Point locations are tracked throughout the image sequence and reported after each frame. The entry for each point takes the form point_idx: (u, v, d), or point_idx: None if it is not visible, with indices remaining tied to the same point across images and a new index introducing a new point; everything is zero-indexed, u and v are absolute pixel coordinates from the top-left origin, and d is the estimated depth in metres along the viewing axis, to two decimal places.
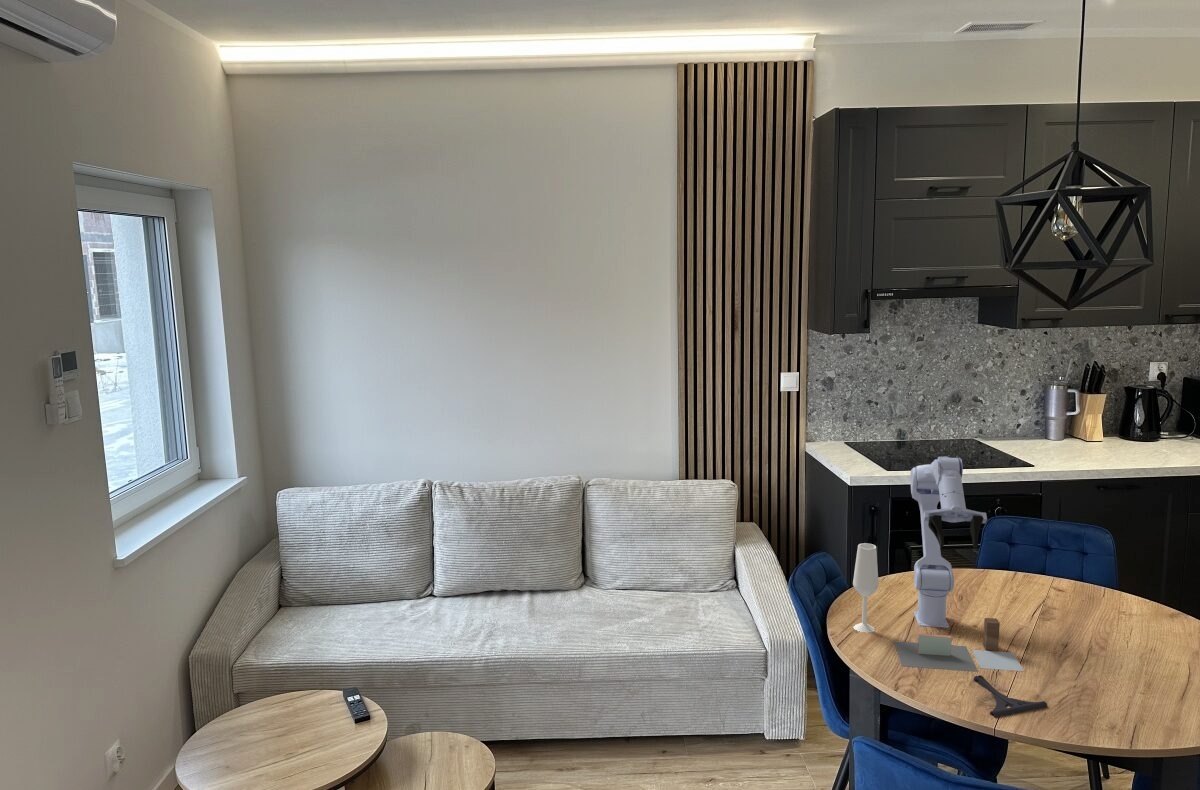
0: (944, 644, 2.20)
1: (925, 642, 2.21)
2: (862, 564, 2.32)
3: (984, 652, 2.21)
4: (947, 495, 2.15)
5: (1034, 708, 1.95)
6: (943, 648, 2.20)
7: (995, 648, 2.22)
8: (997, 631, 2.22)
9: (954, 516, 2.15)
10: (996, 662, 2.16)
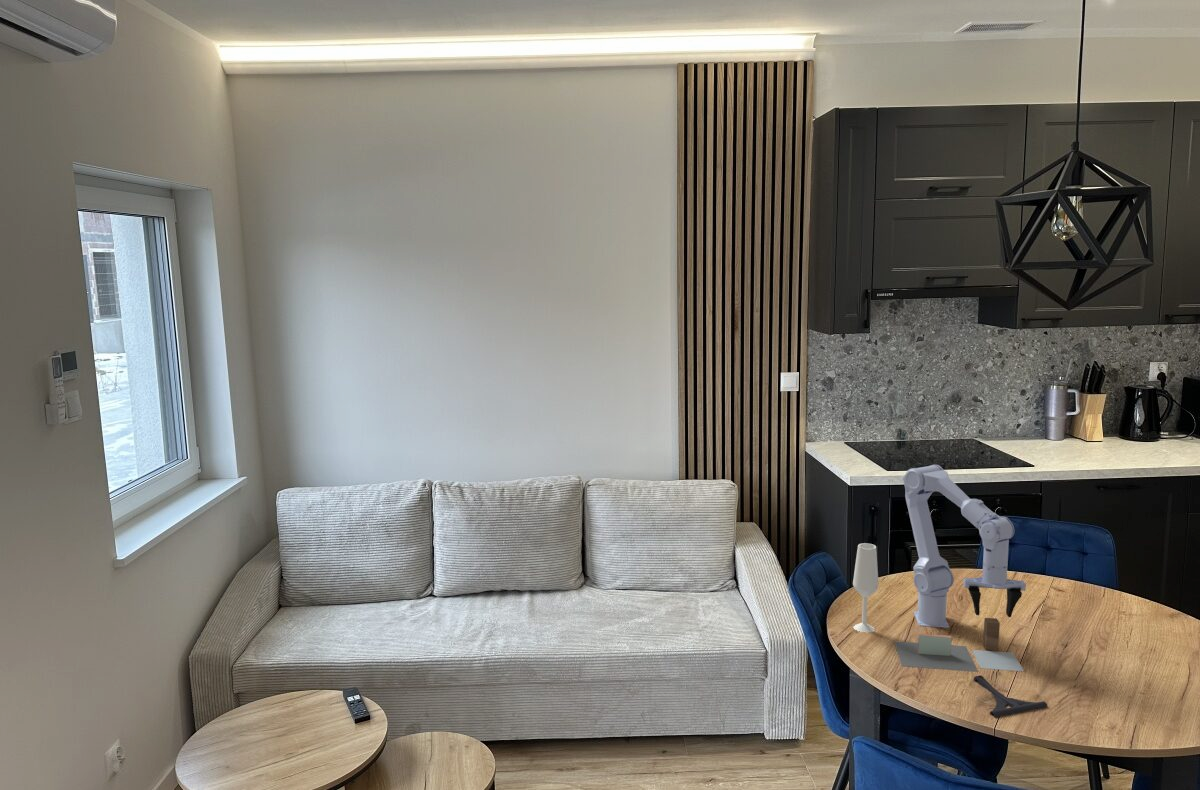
0: (944, 644, 2.20)
1: (925, 642, 2.21)
2: (862, 563, 2.32)
3: (984, 652, 2.21)
4: (991, 570, 2.18)
5: (1034, 708, 1.95)
6: (943, 648, 2.20)
7: (995, 648, 2.22)
8: (997, 631, 2.22)
9: None
10: (996, 662, 2.16)
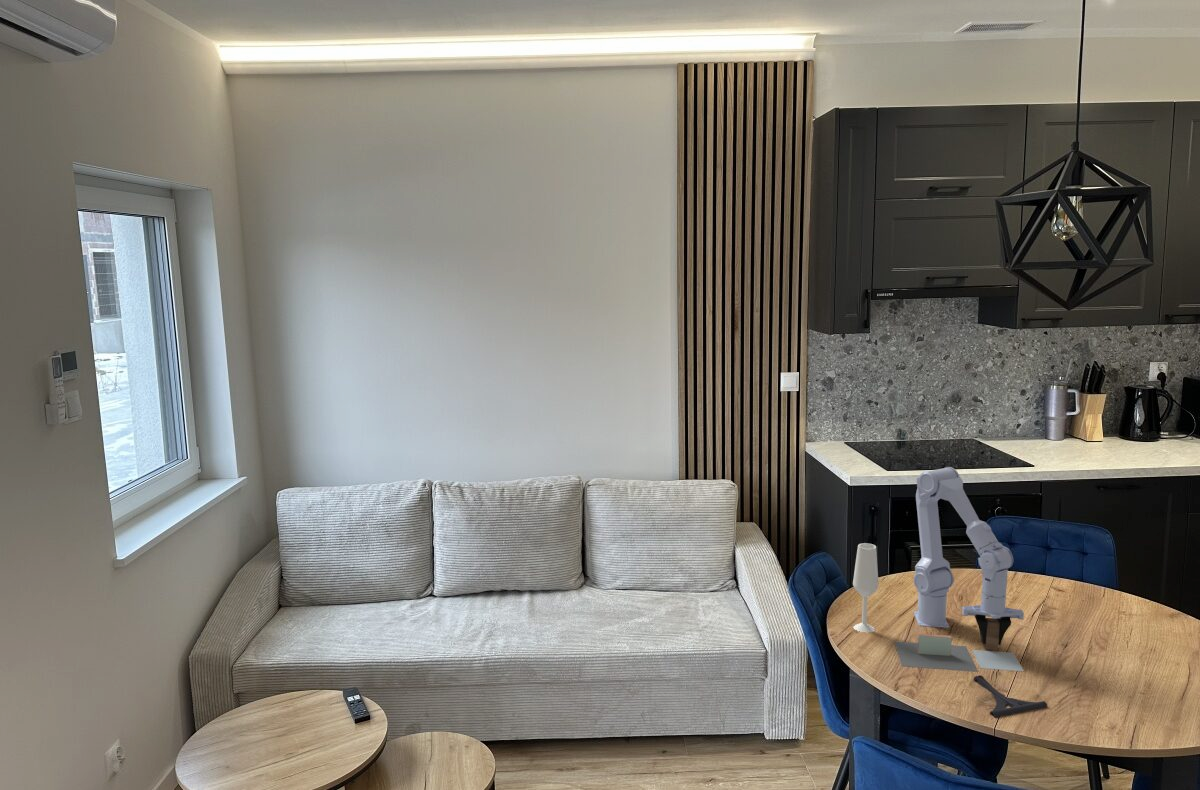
0: (944, 644, 2.20)
1: (925, 642, 2.21)
2: (862, 563, 2.32)
3: (984, 652, 2.21)
4: (989, 599, 2.20)
5: (1034, 708, 1.95)
6: (943, 648, 2.20)
7: (995, 648, 2.22)
8: (997, 631, 2.22)
9: None
10: (996, 662, 2.16)
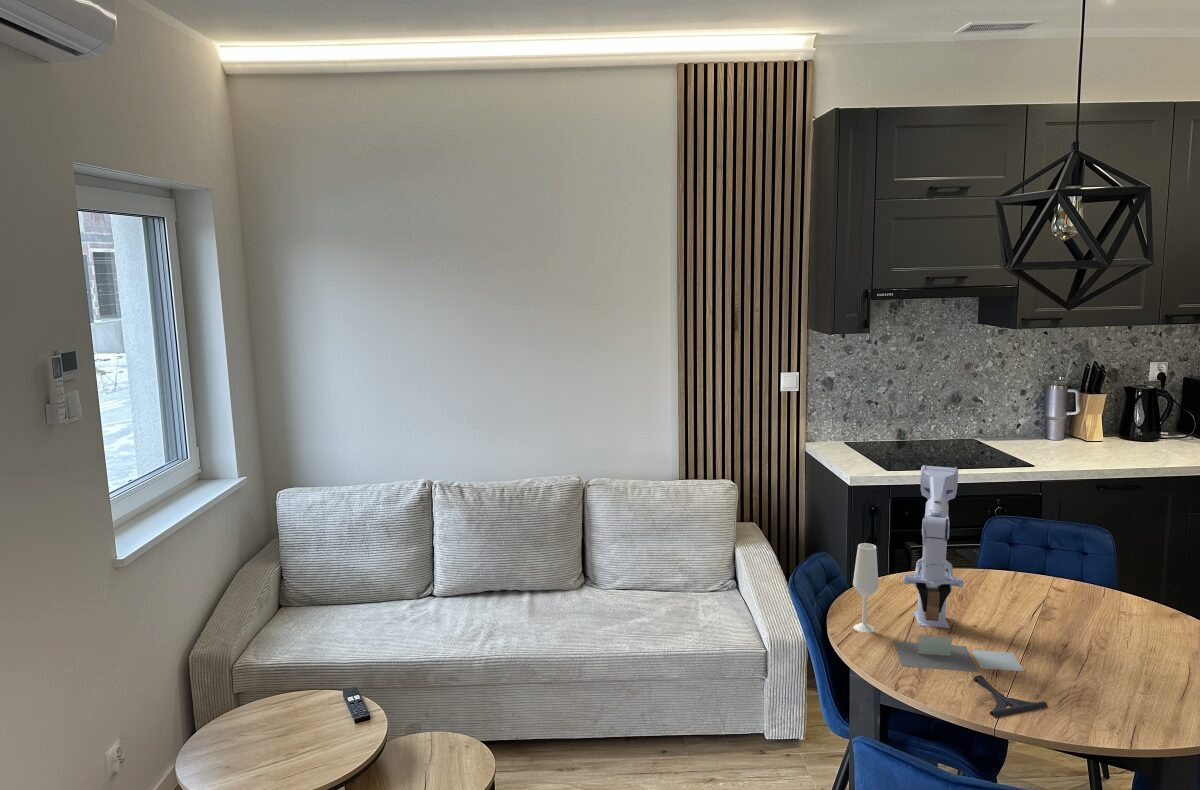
0: (944, 644, 2.20)
1: (925, 642, 2.21)
2: (862, 563, 2.32)
3: (984, 652, 2.21)
4: (929, 567, 2.22)
5: (1034, 708, 1.95)
6: (943, 648, 2.20)
7: (936, 617, 2.24)
8: (937, 600, 2.23)
9: None
10: (996, 662, 2.16)
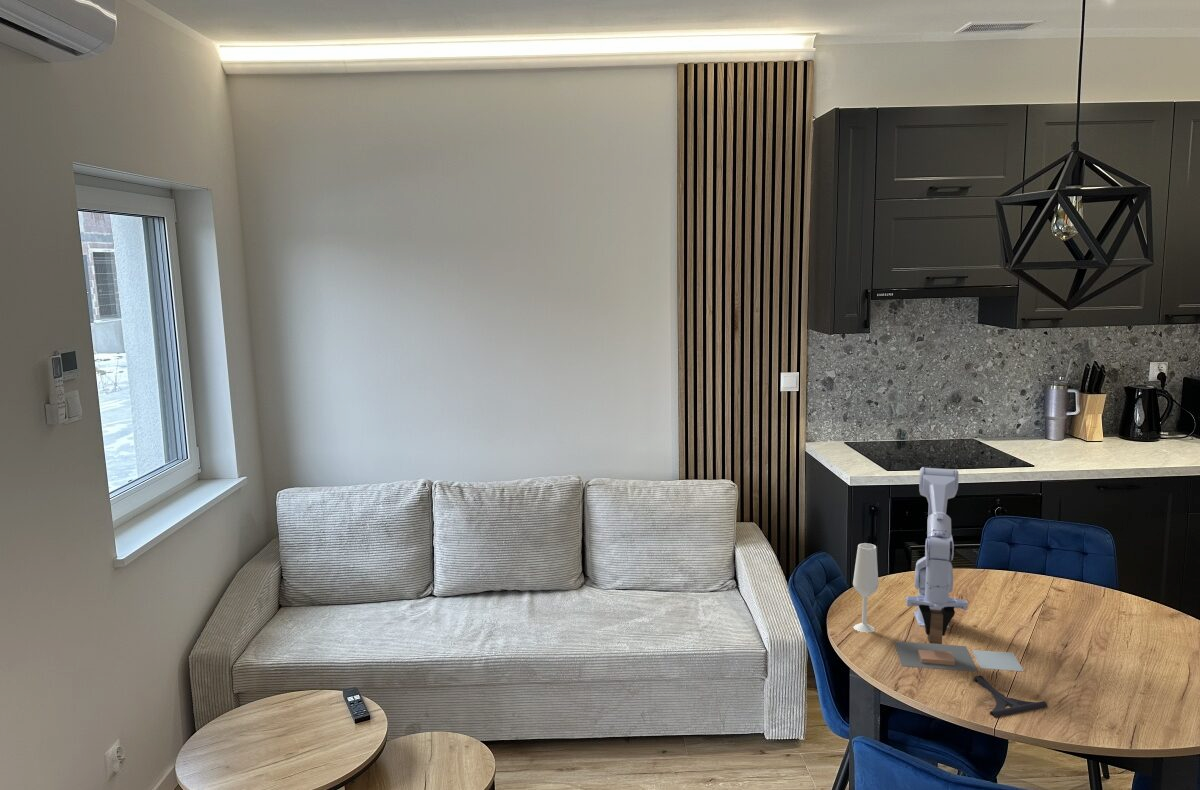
0: None
1: None
2: (862, 563, 2.32)
3: (984, 652, 2.21)
4: (932, 589, 2.16)
5: (1034, 708, 1.95)
6: None
7: (939, 640, 2.19)
8: (941, 622, 2.18)
9: None
10: (996, 662, 2.16)
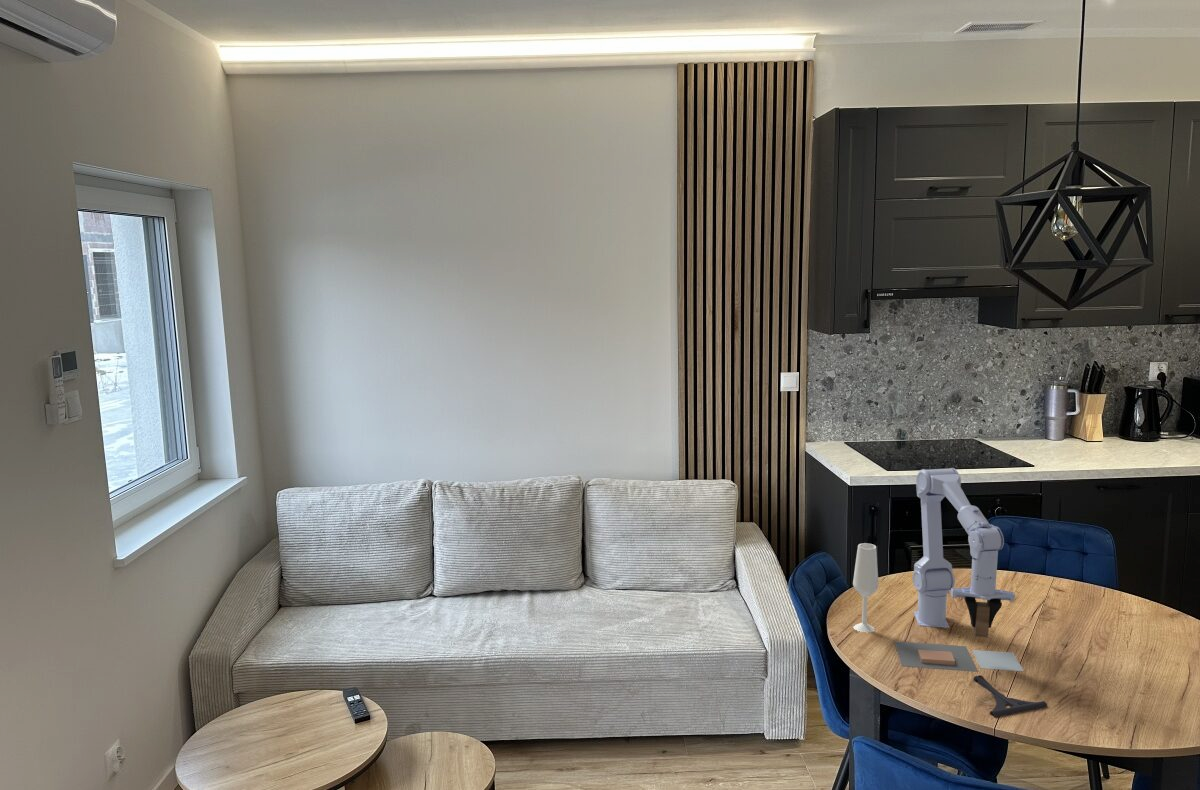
0: None
1: None
2: (862, 564, 2.32)
3: (984, 652, 2.21)
4: (979, 580, 2.12)
5: (1034, 708, 1.95)
6: None
7: (985, 633, 2.15)
8: (987, 615, 2.14)
9: None
10: (996, 662, 2.16)
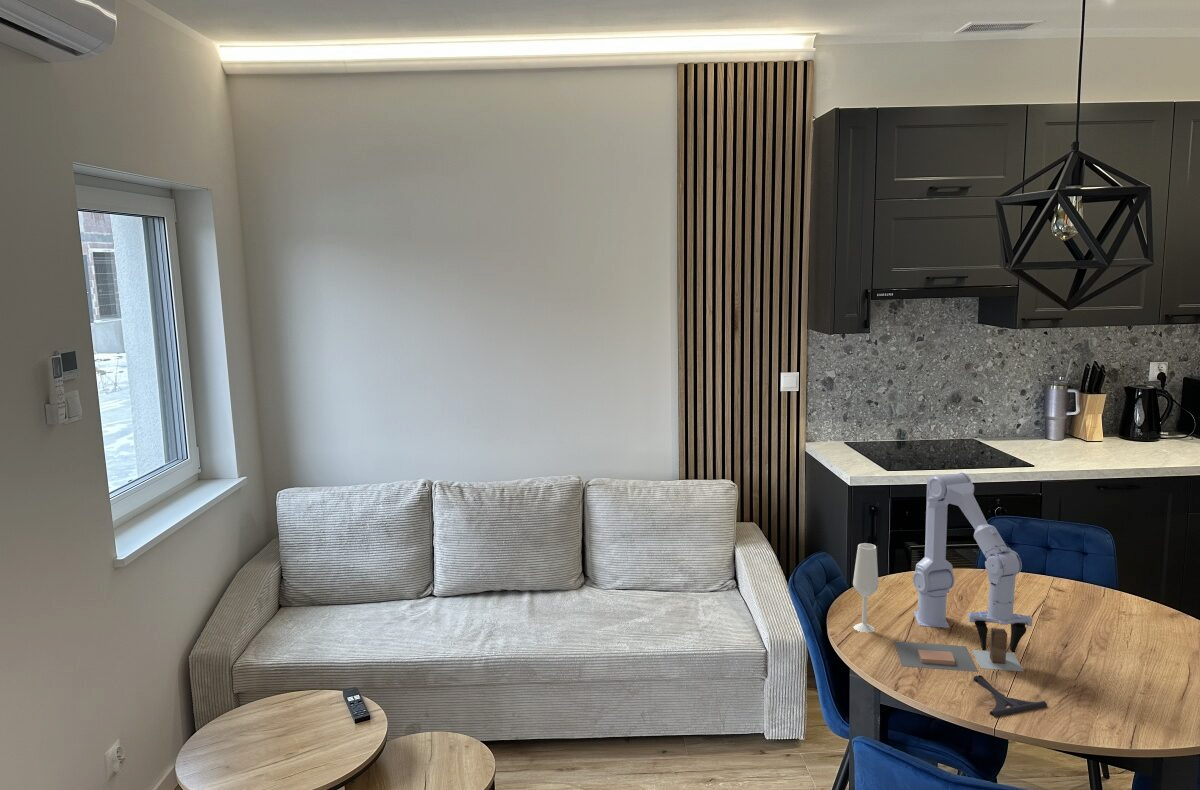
0: None
1: None
2: (862, 563, 2.32)
3: (984, 652, 2.21)
4: (997, 605, 2.13)
5: (1034, 708, 1.95)
6: None
7: (1002, 660, 2.15)
8: (1004, 642, 2.15)
9: None
10: None
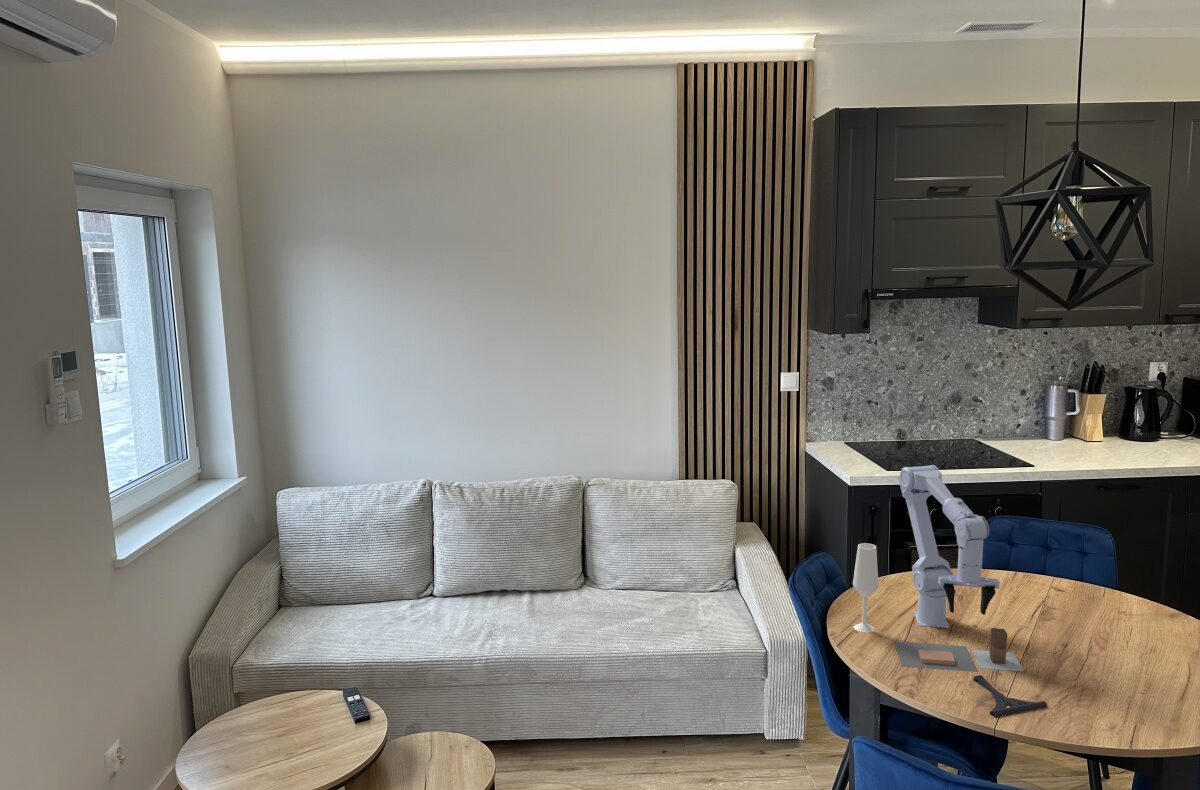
0: None
1: None
2: (862, 563, 2.32)
3: (984, 652, 2.21)
4: (965, 568, 2.21)
5: (1034, 708, 1.95)
6: None
7: (1002, 660, 2.15)
8: (1004, 642, 2.15)
9: None
10: None
